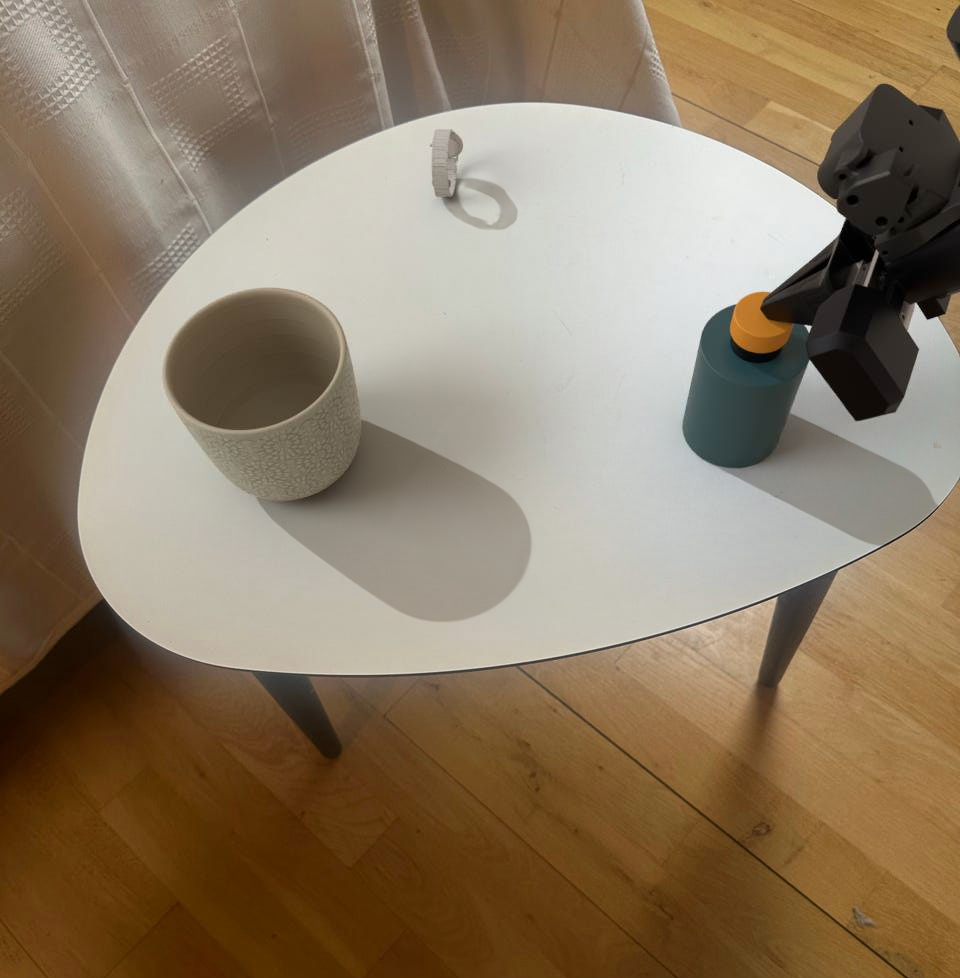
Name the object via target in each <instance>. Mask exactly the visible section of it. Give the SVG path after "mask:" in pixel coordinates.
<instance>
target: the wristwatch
mask: <svg viewBox="0 0 960 978" xmlns="http://www.w3.org/2000/svg"><path fill="white" fill-rule="evenodd" d="M433 133H434V134H433V137H432V140H431V143H430V144H429V147H430V148H432V149H431V178H432V180H431V185H432V187H433V191H434V195H435V197H437V198H438V197H439V198H452V197H453V195H454V194H455V190H456V184H457V170H458V169H457V167H458V165H457V163H458V162H459V155H460V154H461V153H462V152H463V149H464V143H463V142H464V141H463V139H462V138H461V136H460V135H459V134H457V133H456V131H454V130H453V129H450V128H448V129H447V128H436V129H435V130H434V132H433Z"/></svg>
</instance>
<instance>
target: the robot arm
mask: <svg viewBox="0 0 960 978" xmlns="http://www.w3.org/2000/svg"><path fill="white" fill-rule="evenodd" d="M946 25H947V26H946V29H945V30H946V31H945V32H946V38H947V40H948V42H949V44H950V46H951V48H952V49H953V52H954V54H955V56H956V57H957V60H958V62H960V4H959V5H958V6H957V7H956V9H955V10H954V11H953V13H952V15H951V17H950V18H949V21H948V23H947V24H946ZM816 180H817V183H818V185H819V187H820V189H821V190H822V191H823V192H824V193H825V194H826V195H827V196H828V197H829V198H831V199H832V200H836V203H835V205H836V206H835V207H836V211H837V213H838V214H839V215H840V216H842V217H843V218H845V219H844V220H843V224H842V227H841V230H840V232H839V233H838V235H837V236H836V237H835V238H833V240H832V241H830V243H829V244H827V245H826V246H825V247H824V248H823V249H822V250H821V251H820V252H818V253H817V254H816V255H815V256H814V257H812V258H811V259H810V260H809V261H808V262H806V263H805V264H804V265H803V266H802V267H800V268H799V269H798V270H796V271H795V272H794V273H793V274H792V275H790V276H789V277H788V278H787V279H786V280H784V281H783V282H782V283H781V284H779V285H778V286H777V287H776V288H775V289H773V290H771V291H770V292H771V293H770V294H769V295H767V296H766V297H765V298H764V300H763V302H762V304H761V307H760V310H761V312H762V313H763V314H764V316H765V317H766V318H767V319H769V320H774V321H780V322H787V323H794V324H800V325H805V326H808V327H810V330H809V331H808V332H809V335H808V337H807V340H806V348H807V354H808V358H809V362H811V364H812V365H813V367H814V368H815V369H816V370H817V372H818V373H819V374H820V376H821V377H822V378H823V380H824V381H825V383H826V384H827V385H828V387H829V388H830V389H831V391H832V392H833V393H834V395H835V396H836V397H837V398H838V400H839V402H840V403H841V404H842V405H843V406H844V408H845V409H846V410H847V412H848V413H849V414H850V416H851V417H852V419H853V420H854V422H861V421H867V420H869V419H874V418H878V417H882V416H886V415H891V414H894V413H896V412H897V411H898V408H899V407H900V405H901V403H902V402H903V400H904V398H905V396H906V393H907V390H908V387H909V383H910V380H911V377H912V373H913V371H914V368H915V364H916V362H917V358H918V354H919V352H920V348H919V347H918V345H917V343H916V341H915V340H914V338H913V337H912V336H911V334H910V333H909V331H908V330H909V327H910V324H911V320H912V319H913V314H914V312H915V307H916V305H917V306H918V308H919V310H920V311H921V313H922V314H923V316H924V318H925V319H926V321H929V320H932V319H935V318H938V317H941V316H943V315H946V314H947V311H948V307H949V306H950V305H949V304H950V301H951V298H952V295H955V294H958V293H960V139H959V137H958V134H957V133H956V131H955V130H954V127H953V125H952V123H951V122H950V120H949V118H948V116H947V115H946V112H945V111H944V109H942V108H939V107H938V108H937V107H933V106H927V105H924V104H917V103H916V102H915V101H913V100H912V99H911V98H910V97H908V96H907V95H905V94H904V93H903V92H901V91H900V90H899V89H898V88H896V87H895V86H893V85H891V84H889V83H884V82H883V83H880V84H878V85H877V86H876V87H874V89H873V90H872V91H871V92H870V93H869V94H868V95H867V96H866V97H865V98H864V99H863V100H862V102H860V104H859V105H857V107H856V108H855V109H854V110H853V111H852V112H851V113H850V114H849V116H847V118H846V119H845V120H844V121H842V123H841V124H840V125H839V126H838V127H837V128H836V129H835V131H834V132H833V133H832V135H831V137H830V144H829V145H828V148H827V151H826V153H825V155H824V158H823V160H822V161H821V163H820V164H819V167H818V169H817V173H816Z"/></svg>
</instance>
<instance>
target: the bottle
mask: <svg viewBox="0 0 960 978" xmlns="http://www.w3.org/2000/svg"><path fill="white" fill-rule="evenodd" d="M736 305H737V303H735V304H732V305H728V306H726V307H724V308H722V309H720V310H719V311H717V312H716V313H715V314H713V315H712V316H711V317H710V318H709V320H708V321H706V323H705V325H704V327H703V328H702V331H701V335H700V339H699V343H698V348H697V353H696V358H695V362H694V368H693V372H692V376H691V380H690V385H689V390H688V395H687V399H686V405H685V410H684V413H683V419H682V425H681V427H682V434H683V437H684V440H685V442H686V444H687V445H688V447H689V448H690V449H691V451H692V452H693V453H694V454H695V455H696V456H698V457H699V458H701V459H702V460H704V461H705V462H707V463H709V464H712V465H715V466H718V467H721V468H731V469H732V468H733V469H739V468H746V467H750V466H753V465H756V464H758V463H760V462H762V461H764V460H765V459H767V458H768V457H769V456H770V455H771V454H773V452H774V450H776V447H777V446H778V444H779V441H780V439H781V436H782V433H783V431H784V429H785V425H786V423H787V420H788V418H789V415H790V412H791V410H792V407H793V405H794V403H795V400H796V397H797V394H798V392H799V389H800V386H801V384H802V381H803V379H804V375H805V373H806V371H807V368H808V365H809V363H810V360H809V358H808V354H807V348H806V340H807V337H808V335H809V332H810V331H809V330H808V328H807V327H806V325H800V324H794V325H793V328H792V331H791V334H790V337H789V339H788V341H787V342H786V343H785V345H783V346H782V347H781V348H779V349H778V350H776V351H773V352H769V353H754V352H750V351H747V350H745V349H743V348H741V347H740V346H739V345H738V344H736V342H735V341H734V340H733V338H732V336H731V333H730V325H731V321H732V317H733V313H734V309H735V307H736Z"/></svg>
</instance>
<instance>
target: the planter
mask: <svg viewBox="0 0 960 978" xmlns="http://www.w3.org/2000/svg"><path fill="white" fill-rule="evenodd" d="M353 365H354V364H353V360H352V357H351V351H350V348H349V344H348V342H347V337H346V335H345V332H344V329H343V326H342V325H341V323H340V321H339V319H338V318H337V316H336V315H335V314H334V312H333V311H331V309H330V308H328V307H327V306H326V305H325V304H324V303H323V302H321V301H320V300H317V299H316V298H314V297H312V296H311V295H309V294H307V293H303V292H301V291H297V290H293V289H289V288H283V287H257V288H249V289H244V290H240V291H236V292H233V293H230V294H227V295H225V296H222V297H220V298H217V299H216V300H214V301H212V302H210V303H208V304H207V305H205V306H203V307H202V308H200V309H199V310H197V311H195V313H193V315H191V316H190V317H189V318H188V319H186V321H185V322H184V323H183V324H182V325H181V326H180V327H179V328H178V330H177V331H176V332H175V334H174V335H173V337H172V339H171V341H170V342H169V344H168V345H167V349H166V351H165V354H164V357H163V361H162V368H161V369H162V370H161V371H162V372H161V378H162V379H161V380H162V385H163V389H164V393H165V395H166V397H167V399H168V401H169V403H170V405H171V406H172V408H173V410H174V412H175V414H176V415H177V417H178V418H179V419H180V421H181V423H182V424H183V425H184V427H185V429H186V430H187V431H188V433H189V434H190V436H191V437H192V438H193V440H195V442H196V443H197V445H198V446H199V447H200V448H201V450H202V451H203V452H204V454H205V455H206V457H207V458H208V459H209V460H210V462H211V463H212V464H213V465H214V466H215V468H216V469H217V470H218V471H219V472H220V473H221V474H222V476H224V477H225V478H226V480H228V481H229V482H230V484H232V485H233V486H235V487H236V488H238V489H240V490H241V491H243V492H245V493H246V494H248V495H250V496H254V497H256V498H259V499H263V500H269V501H276V502H277V501H278V502H285V501H286V502H287V501H295V500H296V501H297V500H301V499H305V498H307V497H311V496H313V495H316V494H318V493H320V492H322V491H324V490H325V489H327V488H329V487H330V486H331V485H333V484H334V483H335V482H336V481H337V480H339V479H340V478H341V477H342V476H343V474H344V473H345V472H346V471H347V470H348V468H349V467H350V465H351V464H352V462H353V460H354V458H355V456H356V454H357V452H358V449H359V445H360V440H361V435H362V418H361V417H362V416H361V406H360V400H359V393H358V387H357V380H356V375H355V371H354V366H353Z"/></svg>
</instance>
